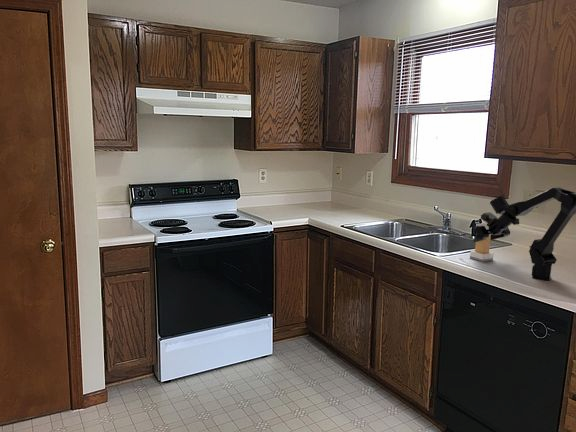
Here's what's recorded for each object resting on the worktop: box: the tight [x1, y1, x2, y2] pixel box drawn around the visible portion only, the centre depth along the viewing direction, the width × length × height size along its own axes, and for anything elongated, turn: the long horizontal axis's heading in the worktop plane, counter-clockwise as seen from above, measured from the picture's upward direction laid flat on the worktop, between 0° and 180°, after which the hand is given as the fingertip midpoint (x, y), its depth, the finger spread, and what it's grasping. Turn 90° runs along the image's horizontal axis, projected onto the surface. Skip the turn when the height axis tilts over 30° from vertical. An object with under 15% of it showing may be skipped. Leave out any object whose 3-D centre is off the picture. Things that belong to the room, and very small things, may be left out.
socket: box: [469, 249, 494, 263], centre depth 227 cm, size 7×7×4 cm
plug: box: [474, 235, 491, 254], centre depth 226 cm, size 4×4×12 cm
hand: (480, 240), depth 227 cm, fingers open, 9 cm apart
